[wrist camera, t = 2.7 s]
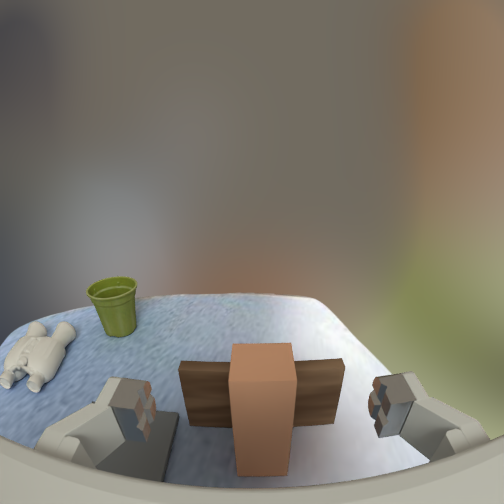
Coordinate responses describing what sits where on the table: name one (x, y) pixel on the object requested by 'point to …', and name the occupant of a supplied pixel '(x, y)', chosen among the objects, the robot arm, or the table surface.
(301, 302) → the table surface
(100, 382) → the table surface
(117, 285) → the plant pot
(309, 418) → the low board
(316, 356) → the table surface
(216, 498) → the robot arm
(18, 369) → the binoculars
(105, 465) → the slate pad
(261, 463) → the marked block
